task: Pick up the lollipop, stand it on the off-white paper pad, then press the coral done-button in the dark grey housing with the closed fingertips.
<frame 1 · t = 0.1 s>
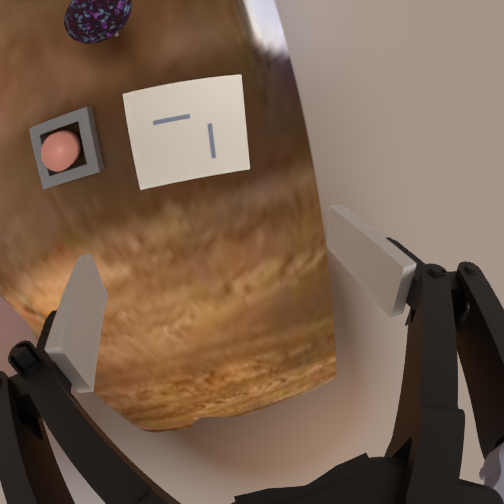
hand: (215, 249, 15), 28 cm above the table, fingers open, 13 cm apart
lollipop: (116, 34, 28), on the table
done button: (61, 150, 30), point 4 cm above the table, slide at 0.0 cm
button housing: (69, 145, 33), on the table
paper pad: (187, 130, 37), on the table
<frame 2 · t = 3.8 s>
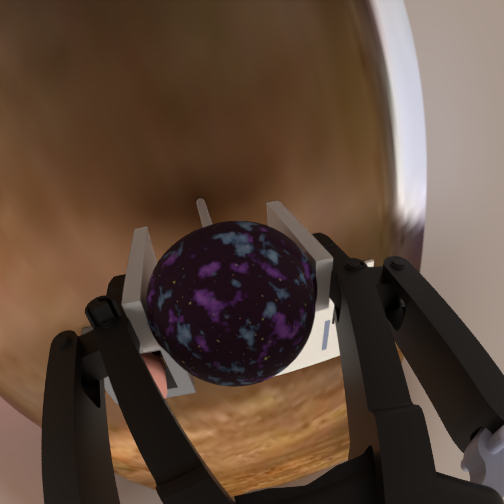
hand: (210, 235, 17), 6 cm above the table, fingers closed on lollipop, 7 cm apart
lollipop: (200, 201, 22), on the table, touching gripper
done button: (140, 379, 24), point 4 cm above the table, slide at 0.0 cm
button housing: (139, 352, 27), on the table
paper pad: (300, 328, 31), on the table
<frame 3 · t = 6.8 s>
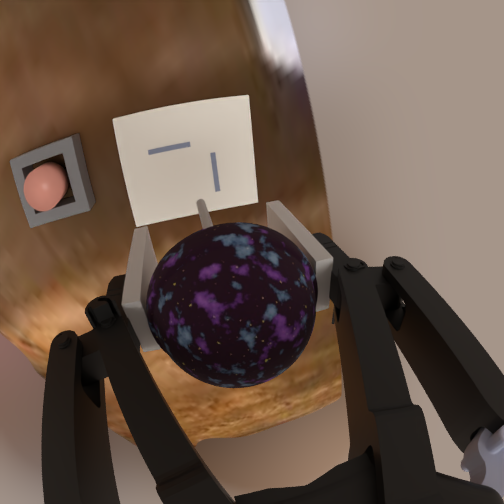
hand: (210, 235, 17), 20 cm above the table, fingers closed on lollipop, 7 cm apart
lollipop: (200, 202, 22), point 15 cm above the table, touching gripper
done button: (46, 186, 27), point 4 cm above the table, slide at 0.0 cm
button housing: (55, 177, 30), on the table
paper pad: (188, 160, 34), on the table
when the fingers open (7 cm above the table, at t = 9.8 s): lollipop drops 1 cm, resting on paper pad.
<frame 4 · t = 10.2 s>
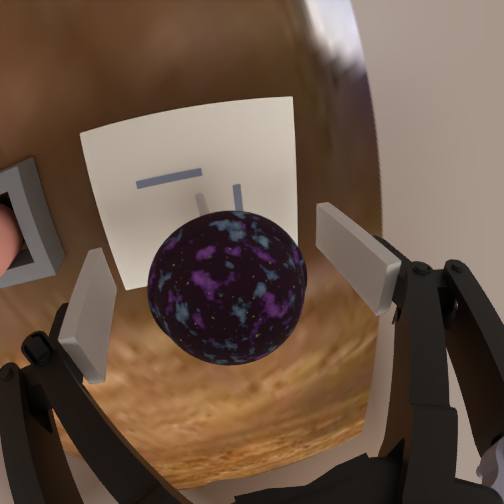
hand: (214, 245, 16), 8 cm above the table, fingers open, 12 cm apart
lollipop: (199, 196, 23), resting on paper pad
button housing: (9, 221, 19), on the table
paper pad: (198, 195, 23), on the table
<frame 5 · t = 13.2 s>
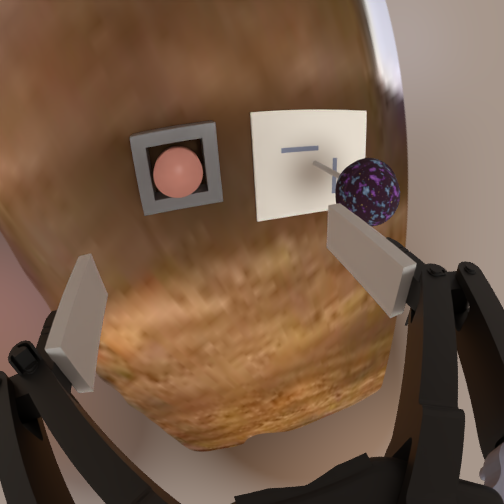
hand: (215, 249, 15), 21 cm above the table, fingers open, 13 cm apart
lollipop: (314, 162, 37), resting on paper pad
done button: (177, 170, 29), point 4 cm above the table, slide at 0.0 cm
button housing: (176, 163, 32), on the table
paper pad: (313, 162, 37), on the table
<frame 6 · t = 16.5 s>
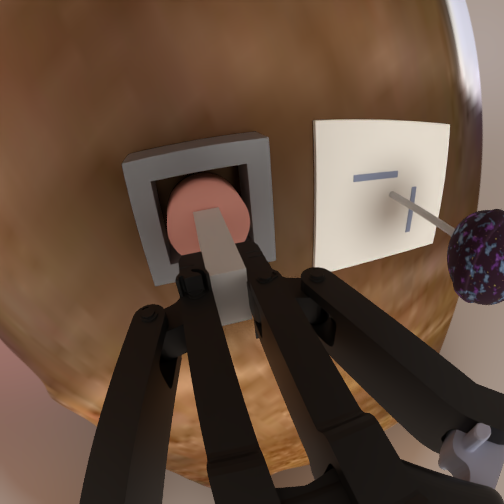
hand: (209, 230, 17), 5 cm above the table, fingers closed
lollipop: (390, 193, 25), resting on paper pad
done button: (206, 216, 19), point 3 cm above the table, slide at 0.4 cm, touching gripper
button housing: (201, 200, 21), on the table
paper pad: (388, 193, 25), on the table
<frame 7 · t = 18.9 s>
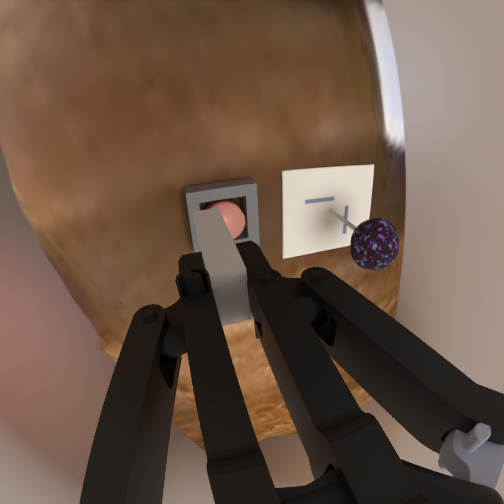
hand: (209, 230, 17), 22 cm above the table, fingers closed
lollipop: (330, 210, 45), resting on paper pad
done button: (223, 219, 39), point 2 cm above the table, slide at 1.2 cm
button housing: (220, 213, 41), on the table
paper pad: (329, 209, 45), on the table
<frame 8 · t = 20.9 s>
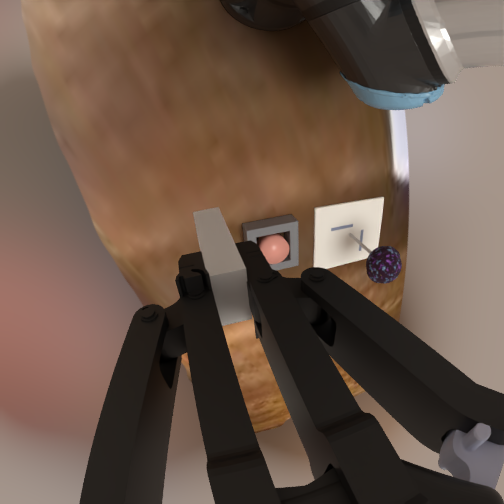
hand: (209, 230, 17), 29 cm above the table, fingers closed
lollipop: (349, 233, 58), resting on paper pad
done button: (272, 247, 52), point 2 cm above the table, slide at 1.2 cm
button housing: (268, 241, 54), on the table
paper pad: (348, 233, 58), on the table
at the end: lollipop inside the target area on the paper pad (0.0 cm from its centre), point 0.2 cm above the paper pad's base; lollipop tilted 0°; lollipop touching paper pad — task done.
